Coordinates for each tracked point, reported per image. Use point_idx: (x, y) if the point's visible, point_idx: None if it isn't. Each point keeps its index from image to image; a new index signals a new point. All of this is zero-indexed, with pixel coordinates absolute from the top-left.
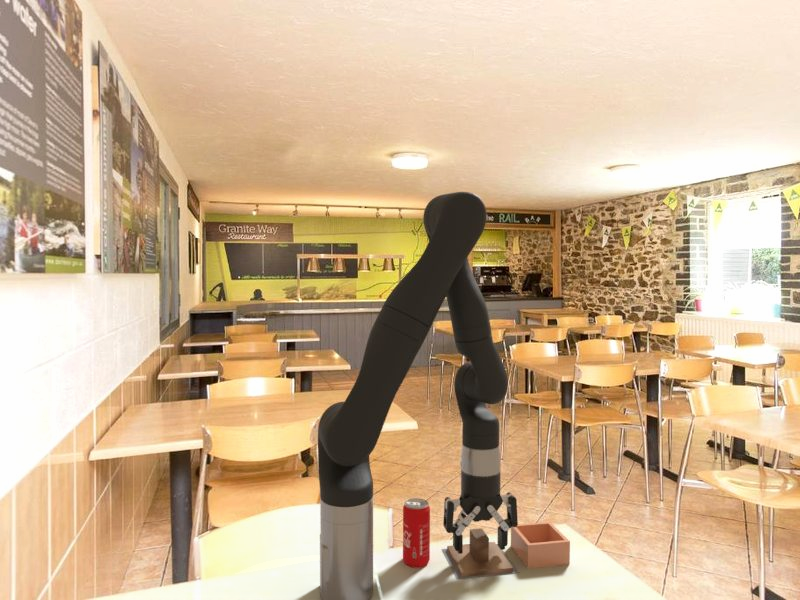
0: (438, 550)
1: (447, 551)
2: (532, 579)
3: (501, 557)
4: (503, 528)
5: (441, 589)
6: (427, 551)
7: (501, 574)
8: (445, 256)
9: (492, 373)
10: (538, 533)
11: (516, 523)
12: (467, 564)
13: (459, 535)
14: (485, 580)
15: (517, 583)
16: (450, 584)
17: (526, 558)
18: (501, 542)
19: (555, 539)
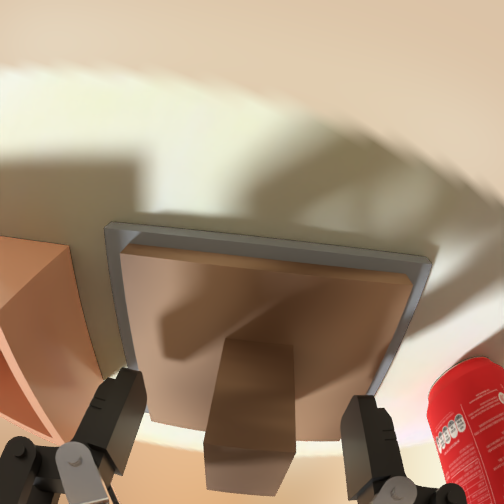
0: None
1: None
2: (67, 183)
3: (151, 342)
4: (88, 462)
5: (498, 230)
6: (476, 408)
7: (195, 238)
8: None
9: None
10: (2, 382)
11: (10, 449)
12: (344, 340)
13: (386, 476)
14: (291, 233)
15: (139, 165)
16: (455, 252)
17: (45, 285)
18: (127, 399)
19: None
